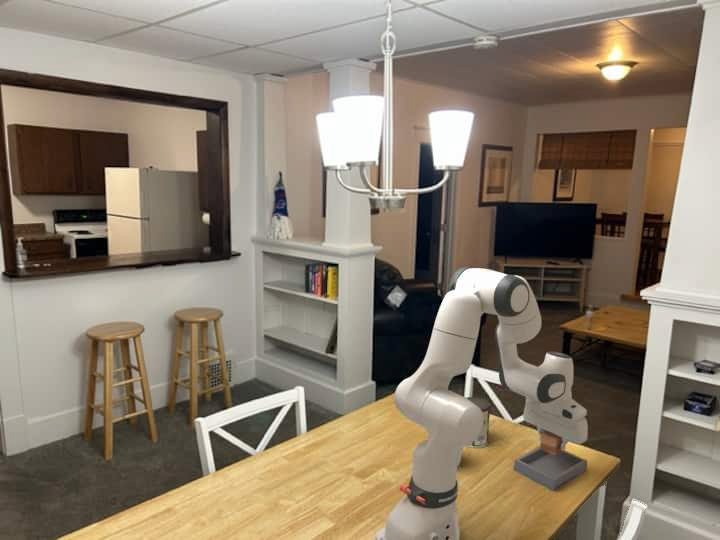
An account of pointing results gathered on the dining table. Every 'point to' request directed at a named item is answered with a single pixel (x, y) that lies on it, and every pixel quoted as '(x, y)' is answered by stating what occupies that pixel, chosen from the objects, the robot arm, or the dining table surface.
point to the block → (550, 443)
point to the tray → (550, 467)
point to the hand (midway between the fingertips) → (552, 445)
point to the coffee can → (485, 409)
